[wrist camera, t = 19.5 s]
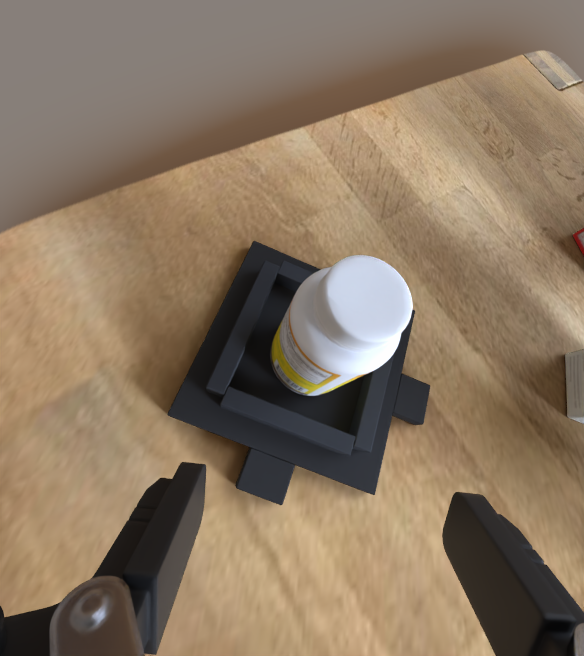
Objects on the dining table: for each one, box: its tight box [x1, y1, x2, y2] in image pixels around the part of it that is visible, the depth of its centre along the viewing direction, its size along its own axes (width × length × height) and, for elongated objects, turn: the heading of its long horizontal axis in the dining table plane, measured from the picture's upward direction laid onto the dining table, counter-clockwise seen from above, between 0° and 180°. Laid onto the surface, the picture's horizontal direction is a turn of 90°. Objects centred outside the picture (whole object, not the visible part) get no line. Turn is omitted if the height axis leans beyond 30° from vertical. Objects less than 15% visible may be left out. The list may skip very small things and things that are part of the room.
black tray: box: [167, 241, 430, 505], centre depth 22 cm, size 16×16×2 cm
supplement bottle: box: [270, 255, 412, 396], centre depth 18 cm, size 6×6×10 cm
